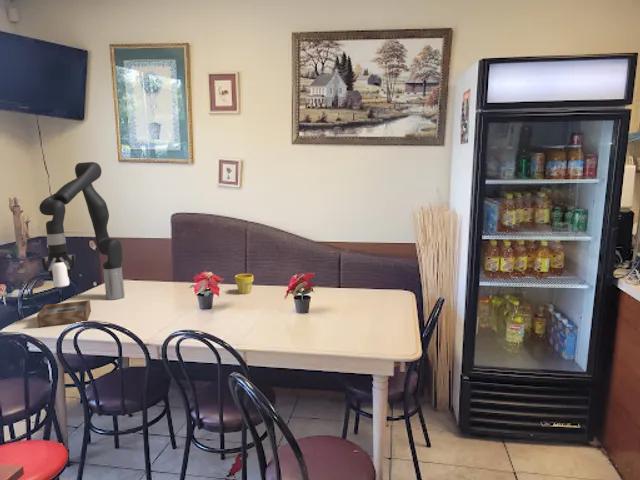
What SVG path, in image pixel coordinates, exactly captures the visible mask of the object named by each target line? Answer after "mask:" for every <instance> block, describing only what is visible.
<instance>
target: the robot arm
mask: <svg viewBox="0 0 640 480" xmlns="http://www.w3.org/2000/svg"><path fill="white" fill-rule="evenodd" d="M74 173H75V177H76V178H75V179H73V180H70V181H68V182H67V183H65V184H64V185H63V186H62V187H60V188H59V189H58V190H57V191H56V192H55V193H54V194H51V195H49V196H47V197H46V198H45V199H43V200H41V202H40V204H39V208H38V209H39V212H40V214H42V215H44V216H52V219H51V220H48V221H46V223H45V228H46V231H45V232H46V245H47V249H48V251H47V252H48V255H47V256H42V257H41V263H42V267H43V270H44V271H48V272H49V278H51V279H53V273H52V265H53V262H54V263H57V262H64V264H65V265H66V267H67V272H68V277H69V278H70V277H71V276H72V274H73V273H72V272H73V271H72V268H73V269H74V268H75V266H76V254H75V253H74V254H69V253H68V248H67V242H66V241H67V240H66V234H65V230H64V228H65V227H64V221H65V217H66V216H65V215H66V205H67V204H70V203H71V202H72V200H73V199H74V198H75V197H76V196H77V195H78V194H80V192H82V194H83V197H84V200H85V203H86V207H87V211H88V215H89V218H90V220H91V223H92V228H93V230H94V237H95V242H96V247H97V250H98V252H99V253H100V254H101V255H103V256H107V261H104V262H103V263H102V270H103V271H102V272H103V279H104V290H105V297H106V300H111V301H112V300H120V299H124V298H125V296H126V295H125V284H124V283H125V282H124V279H123V278H124V276H123V268H122V267H123V266H122V263H123V247H122V246H123V245H122V243H121V241H120V240H119V239H116V238H110V236H109V232H108V223H109V218H110V214H109V213H110V212H109V209H108V205H107V202H106V201H105V200H104V198H103V197H102V196H101V195H100V194H99V193H98V192H97V190H96V189H95V187H94V186H93V183H94V182H95V181H97V180H98V179H100V178H101V176H102V167H101V165H100V164H99V163H98V162H95V161H89V162H78V163H76V165H75V168H74ZM68 258H69V259H70V261H71V264H70V263H69V261H68ZM48 260H49V261H50V262H51V263H50V265H48V263H47V262H48Z"/></svg>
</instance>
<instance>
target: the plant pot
mask: <svg viewBox="0 0 640 480" xmlns="http://www.w3.org/2000/svg"><path fill="white" fill-rule="evenodd" d="M234 281H235V283H236V286H237V291H238V293H239V294H241V295H245V294H250V293H251V292H252V285H253V282H254V275H253V274H252V273H239V274H236V275H235V276H234Z"/></svg>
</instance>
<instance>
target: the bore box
mask: <svg viewBox="0 0 640 480" xmlns="http://www.w3.org/2000/svg"><path fill="white" fill-rule="evenodd" d="M91 312H92V309H91V300H89V299H87V300H80V301H79V300H78V301H70V302H61V303H60V302H59V303H52V304H45V305H43V307H42V308H41V309H40V310H39V312H38V313H37V314H36V319H37V325H38V329H41V328H50V327H57V326H66V325H73V323H74V324H77V323H76V322H81V321H87V322H88V321H89V318H90V315H91Z"/></svg>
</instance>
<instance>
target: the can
mask: <svg viewBox="0 0 640 480" xmlns="http://www.w3.org/2000/svg"><path fill="white" fill-rule="evenodd" d="M52 273H53V278H52V280H53V287H55V288H65V287H68V286H69V285H70V277H68V272H67V267H66V265H65V264H64V262H57V263H54V262H53V265H52Z"/></svg>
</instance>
